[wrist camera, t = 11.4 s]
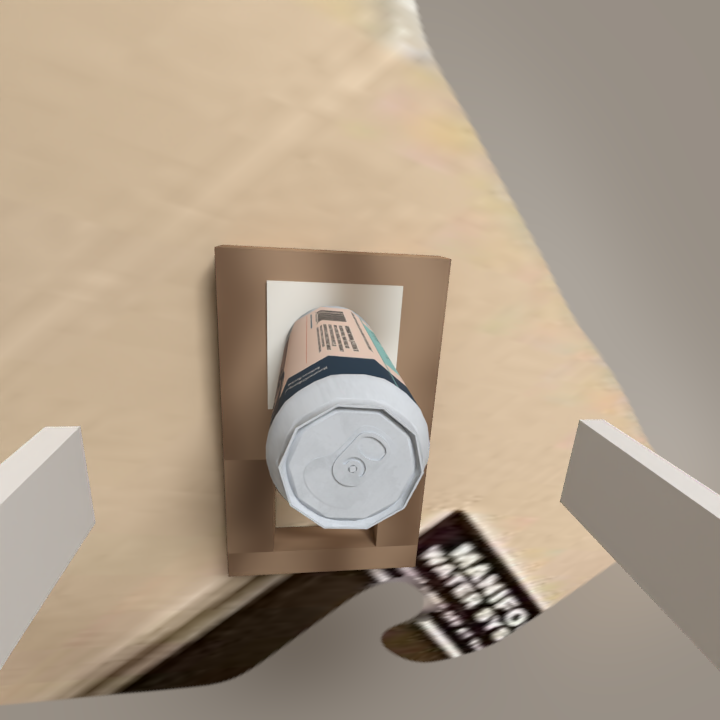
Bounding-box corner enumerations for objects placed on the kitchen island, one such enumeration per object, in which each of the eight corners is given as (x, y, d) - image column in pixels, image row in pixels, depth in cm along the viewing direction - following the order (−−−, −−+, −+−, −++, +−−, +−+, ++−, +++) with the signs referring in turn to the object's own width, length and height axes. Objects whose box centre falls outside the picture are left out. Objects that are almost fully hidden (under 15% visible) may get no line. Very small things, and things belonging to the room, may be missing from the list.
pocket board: (233, 551, 29) (228, 579, 27) (222, 244, 23) (213, 247, 21) (407, 543, 31) (415, 569, 28) (438, 256, 25) (452, 259, 22)
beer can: (266, 352, 23) (224, 483, 11) (325, 284, 22) (345, 349, 10) (334, 406, 24) (358, 570, 13) (392, 343, 23) (474, 457, 12)
